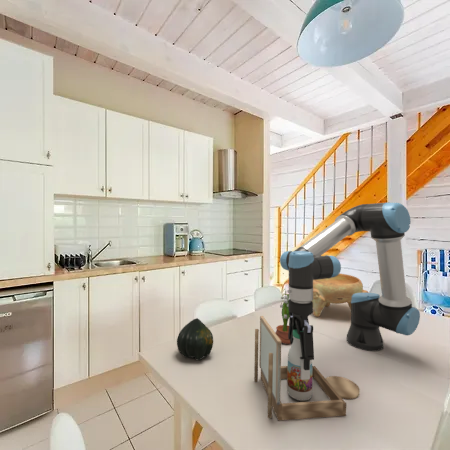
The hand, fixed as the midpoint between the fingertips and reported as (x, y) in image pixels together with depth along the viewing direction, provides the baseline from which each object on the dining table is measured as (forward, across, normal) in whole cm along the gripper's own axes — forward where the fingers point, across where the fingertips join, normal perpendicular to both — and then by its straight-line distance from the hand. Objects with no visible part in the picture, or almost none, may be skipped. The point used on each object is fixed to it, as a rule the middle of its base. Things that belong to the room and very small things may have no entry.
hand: (299, 371), depth 85 cm
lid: (+3, 0, -10) cm, 11 cm away
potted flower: (+8, -38, +9) cm, 40 cm away
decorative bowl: (+9, -74, +50) cm, 89 cm away
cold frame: (+8, 0, 0) cm, 8 cm away
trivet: (+8, -2, +15) cm, 17 cm away
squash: (+8, -29, -33) cm, 45 cm away
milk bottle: (+7, 0, 0) cm, 7 cm away
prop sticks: (+8, 0, -12) cm, 14 cm away
